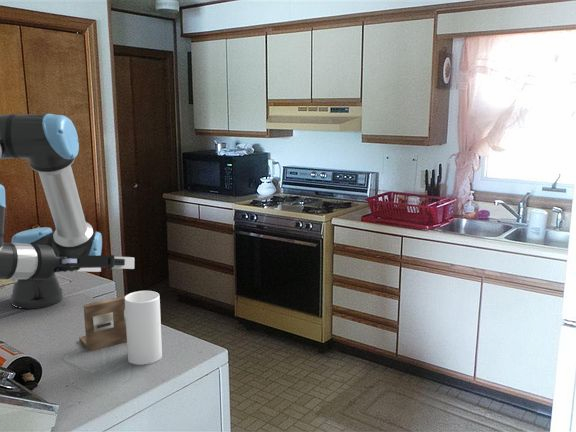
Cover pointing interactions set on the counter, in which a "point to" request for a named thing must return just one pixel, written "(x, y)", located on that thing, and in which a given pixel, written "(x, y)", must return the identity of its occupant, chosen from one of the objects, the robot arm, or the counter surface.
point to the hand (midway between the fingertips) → (116, 264)
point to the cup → (143, 327)
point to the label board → (104, 323)
